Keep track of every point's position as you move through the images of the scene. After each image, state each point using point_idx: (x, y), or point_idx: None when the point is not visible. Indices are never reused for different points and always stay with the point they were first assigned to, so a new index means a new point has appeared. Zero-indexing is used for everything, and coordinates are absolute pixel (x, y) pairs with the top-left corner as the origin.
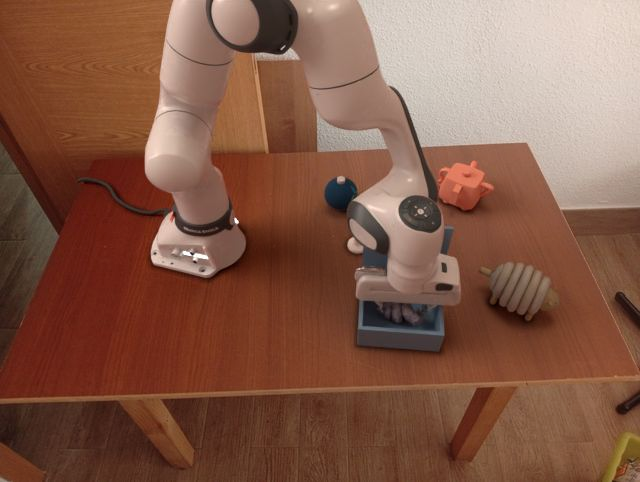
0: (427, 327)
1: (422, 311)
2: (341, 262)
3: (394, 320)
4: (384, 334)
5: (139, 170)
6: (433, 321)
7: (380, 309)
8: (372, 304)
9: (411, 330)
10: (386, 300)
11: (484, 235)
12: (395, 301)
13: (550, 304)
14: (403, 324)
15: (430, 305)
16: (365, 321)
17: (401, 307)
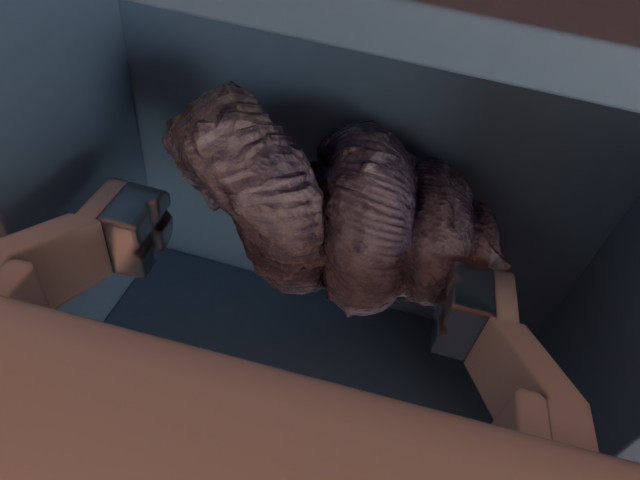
0: (173, 68)
1: (157, 199)
2: None
3: (400, 159)
4: (608, 9)
5: None
6: (138, 105)
7: (506, 277)
8: None
9: (226, 8)
10: (485, 469)
11: None
12: (368, 424)
13: None
14: (335, 114)
15: (56, 250)
16: (617, 181)
17: (323, 255)
